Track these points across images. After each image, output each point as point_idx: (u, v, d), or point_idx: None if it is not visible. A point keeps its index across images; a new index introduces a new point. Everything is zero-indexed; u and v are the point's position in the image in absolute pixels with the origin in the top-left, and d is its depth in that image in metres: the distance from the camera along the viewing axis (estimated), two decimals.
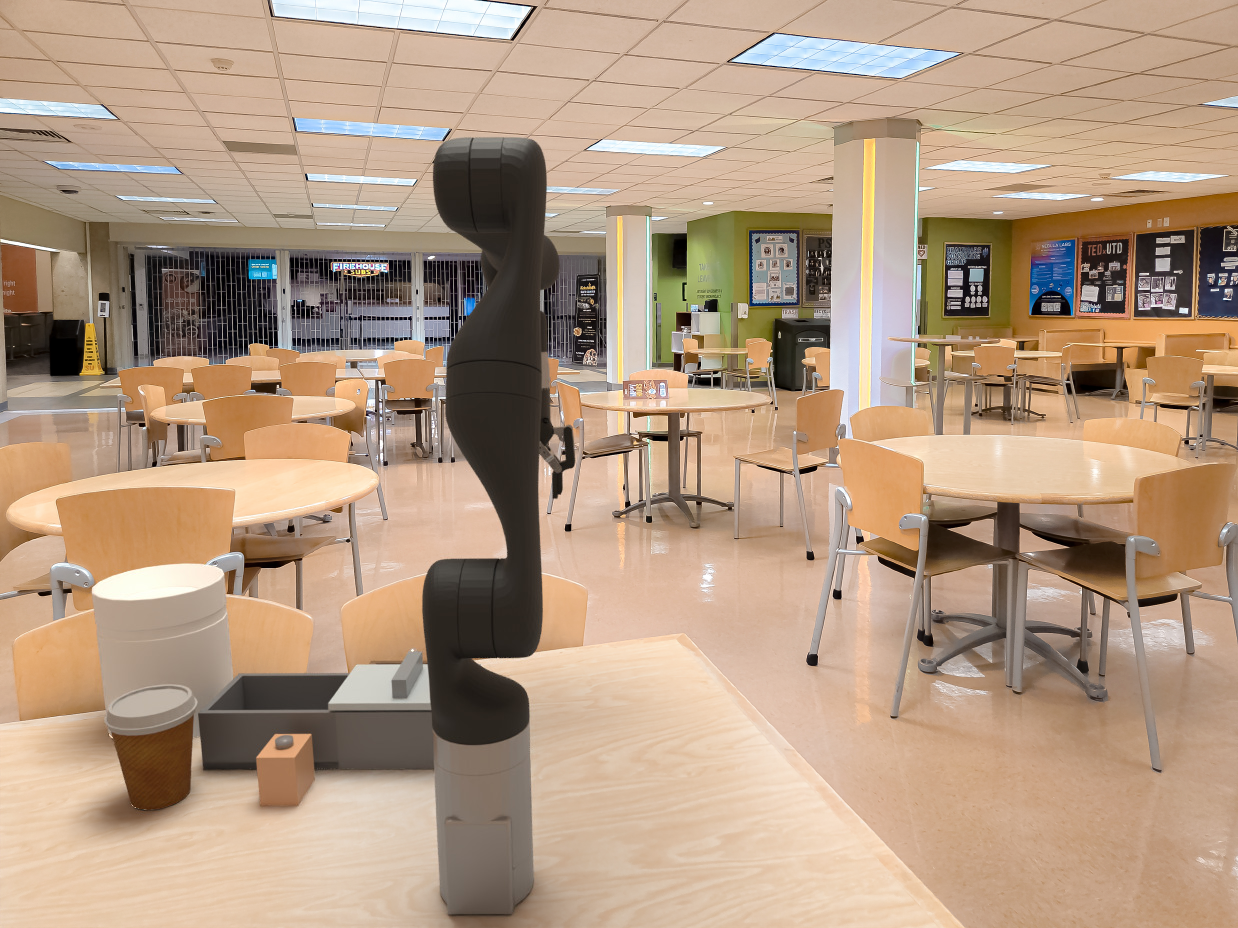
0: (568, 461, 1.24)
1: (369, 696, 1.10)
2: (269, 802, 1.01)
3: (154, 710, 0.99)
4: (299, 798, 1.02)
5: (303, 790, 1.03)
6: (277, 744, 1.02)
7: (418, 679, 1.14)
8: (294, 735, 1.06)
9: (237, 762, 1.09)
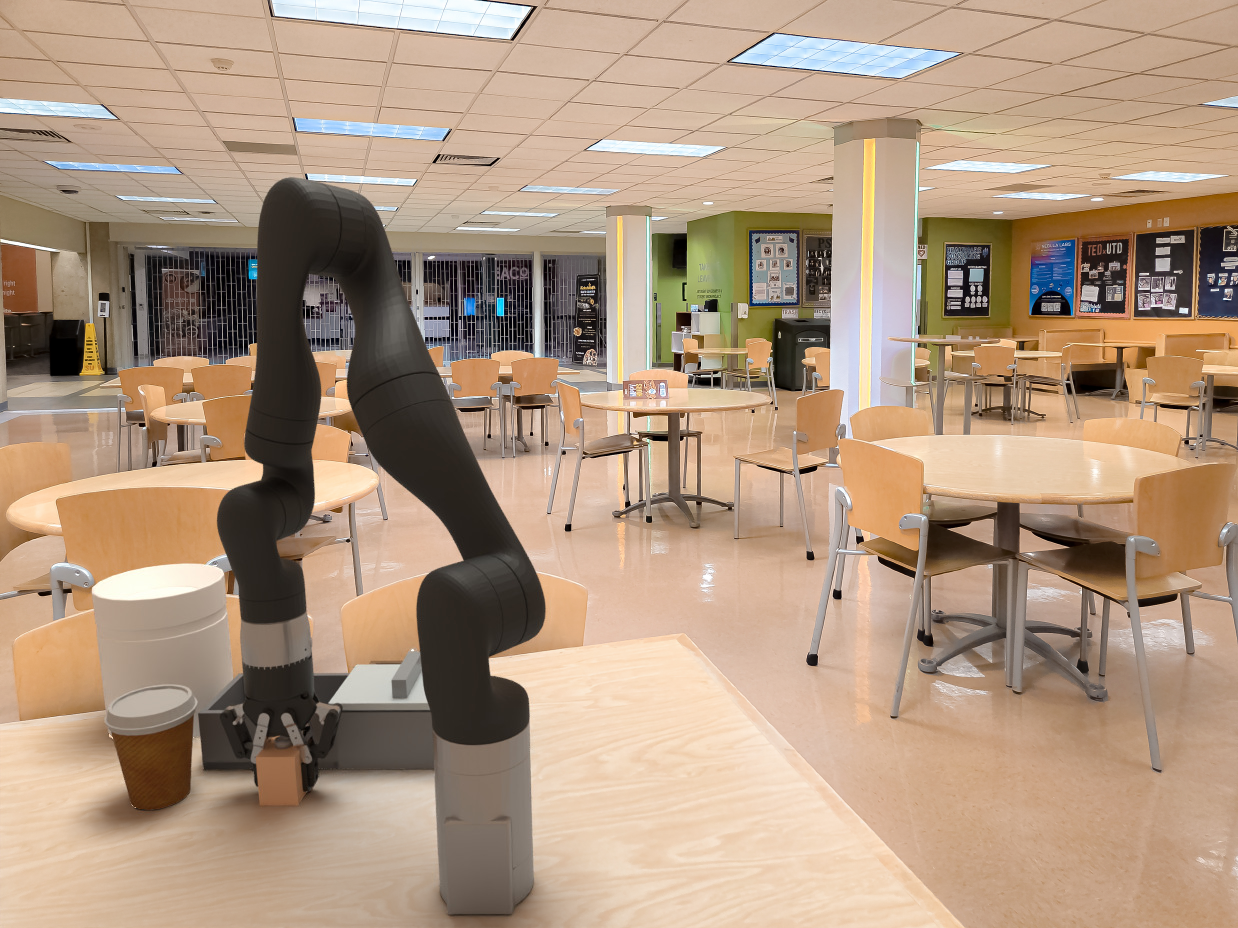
0: (319, 750, 1.02)
1: (369, 696, 1.10)
2: (269, 802, 1.01)
3: (154, 710, 0.99)
4: (299, 798, 1.02)
5: None
6: (277, 744, 1.02)
7: (418, 679, 1.14)
8: None
9: (237, 762, 1.09)
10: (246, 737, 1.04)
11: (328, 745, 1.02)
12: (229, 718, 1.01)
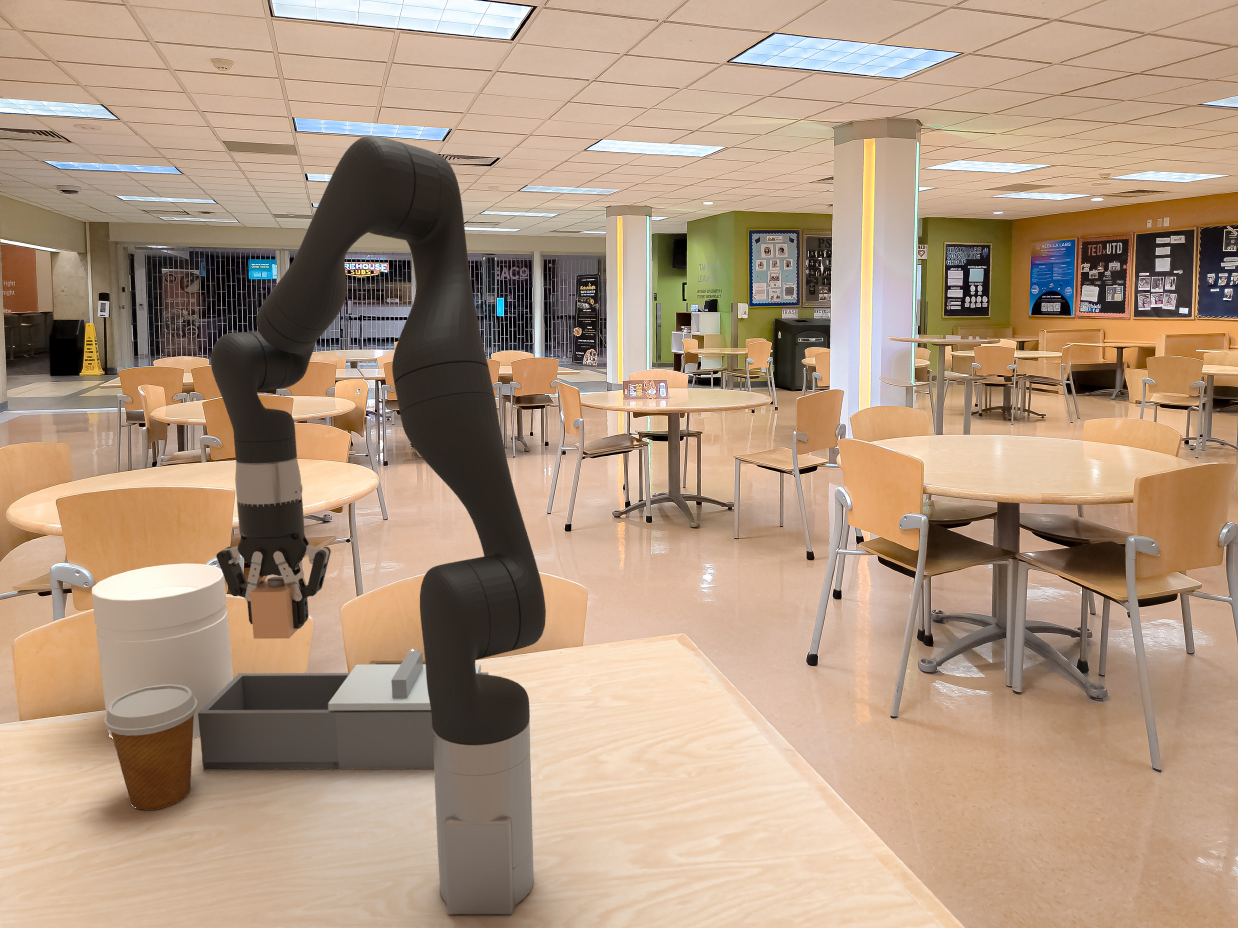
0: (308, 588, 1.10)
1: (369, 696, 1.10)
2: (262, 635, 1.09)
3: (154, 710, 0.99)
4: (290, 632, 1.10)
5: None
6: (270, 582, 1.10)
7: (418, 679, 1.14)
8: None
9: (237, 762, 1.09)
10: (241, 579, 1.12)
11: (317, 583, 1.10)
12: (225, 557, 1.09)
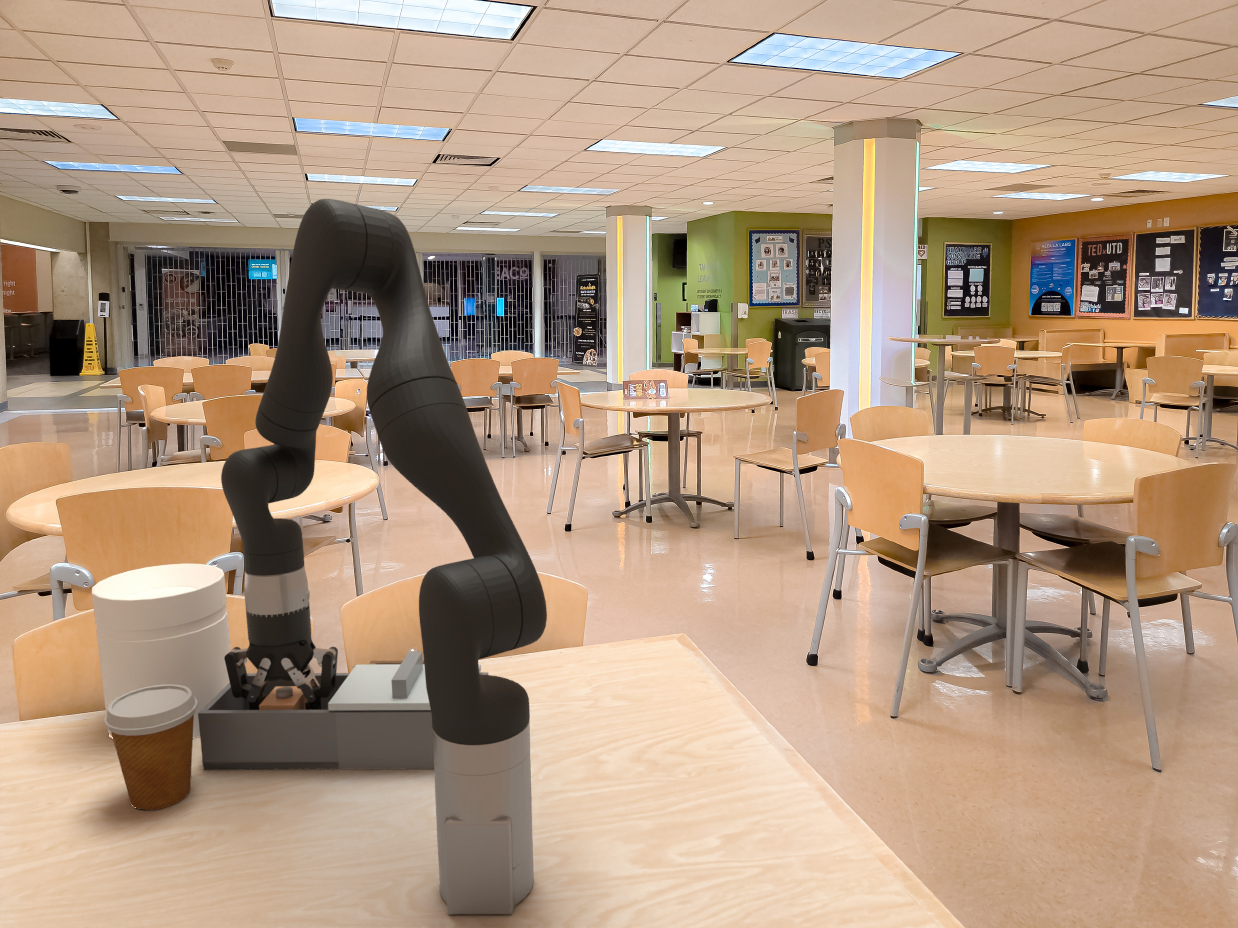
0: (322, 689, 1.12)
1: (369, 696, 1.10)
2: None
3: (154, 710, 0.99)
4: None
5: None
6: (278, 694, 1.13)
7: (418, 679, 1.14)
8: (293, 687, 1.16)
9: (237, 762, 1.09)
10: (244, 679, 1.14)
11: (329, 684, 1.12)
12: (233, 660, 1.12)
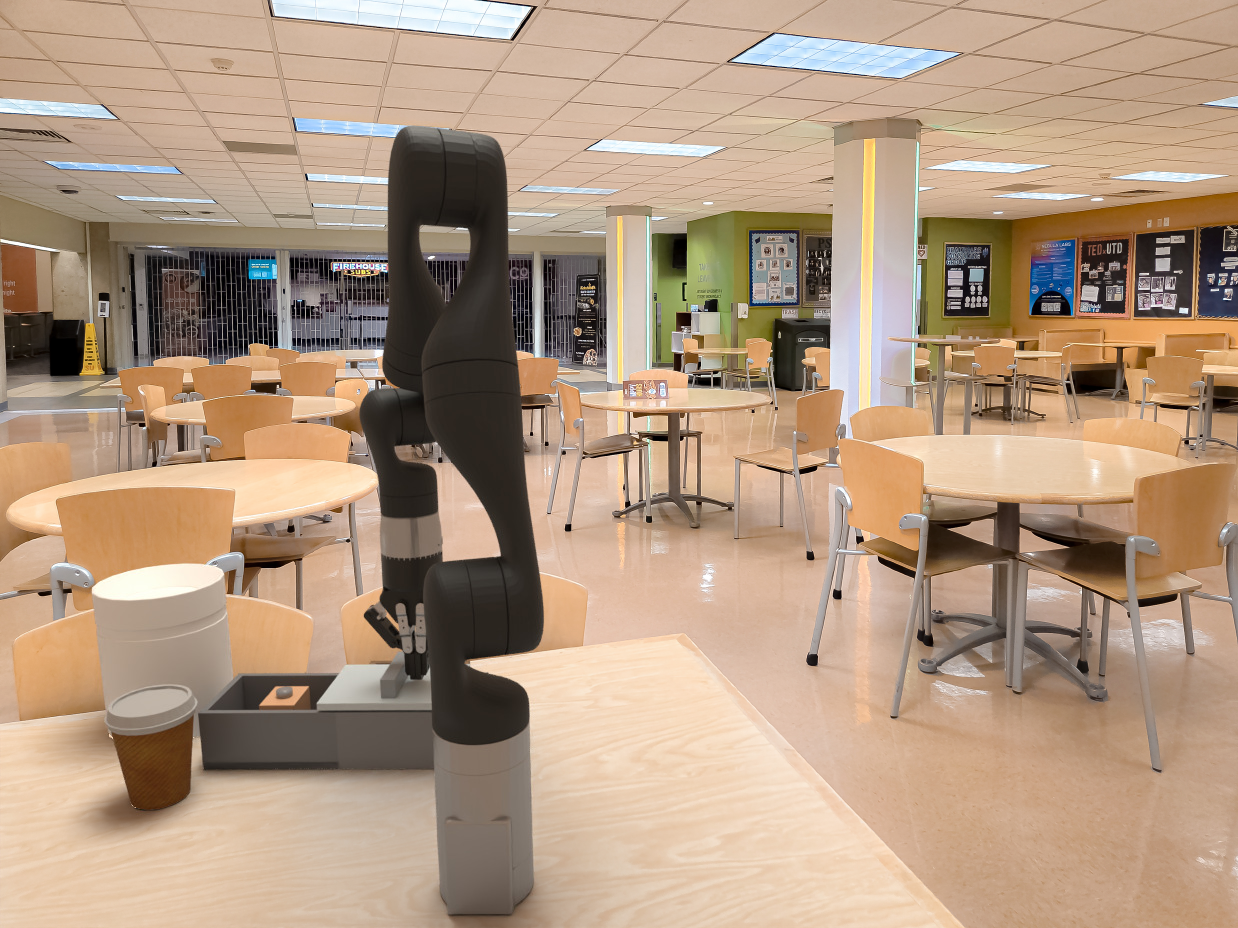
0: None
1: (358, 696, 1.10)
2: None
3: (154, 710, 0.99)
4: None
5: None
6: (278, 694, 1.13)
7: (407, 679, 1.14)
8: (293, 687, 1.16)
9: (237, 762, 1.09)
10: (394, 631, 1.13)
11: None
12: (372, 615, 1.11)
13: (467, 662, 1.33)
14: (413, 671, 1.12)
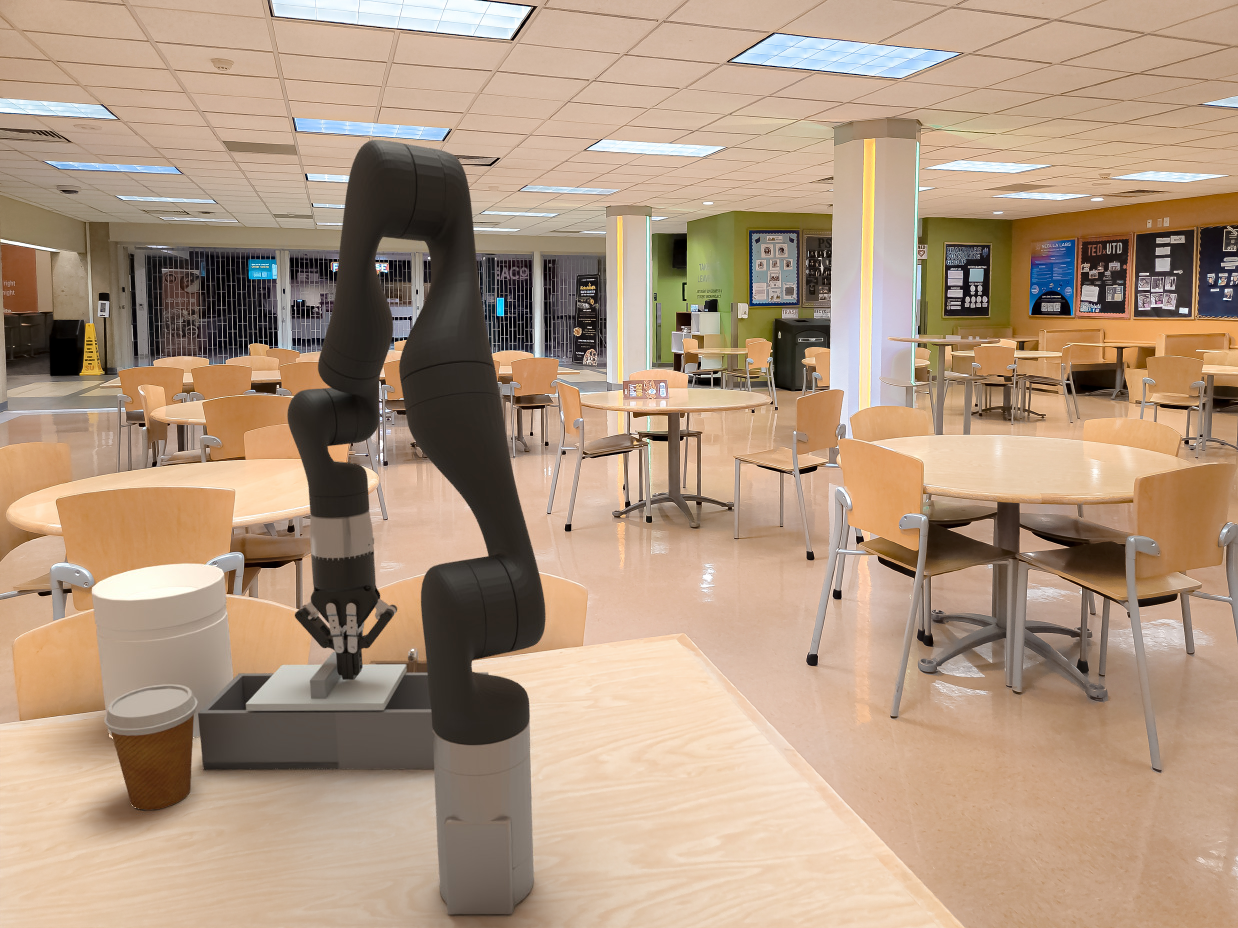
0: (363, 640, 1.11)
1: (288, 696, 1.10)
2: None
3: (154, 710, 0.99)
4: None
5: None
6: None
7: (341, 679, 1.14)
8: None
9: (237, 762, 1.09)
10: (326, 630, 1.13)
11: (374, 639, 1.11)
12: (303, 615, 1.11)
13: None
14: (345, 671, 1.12)
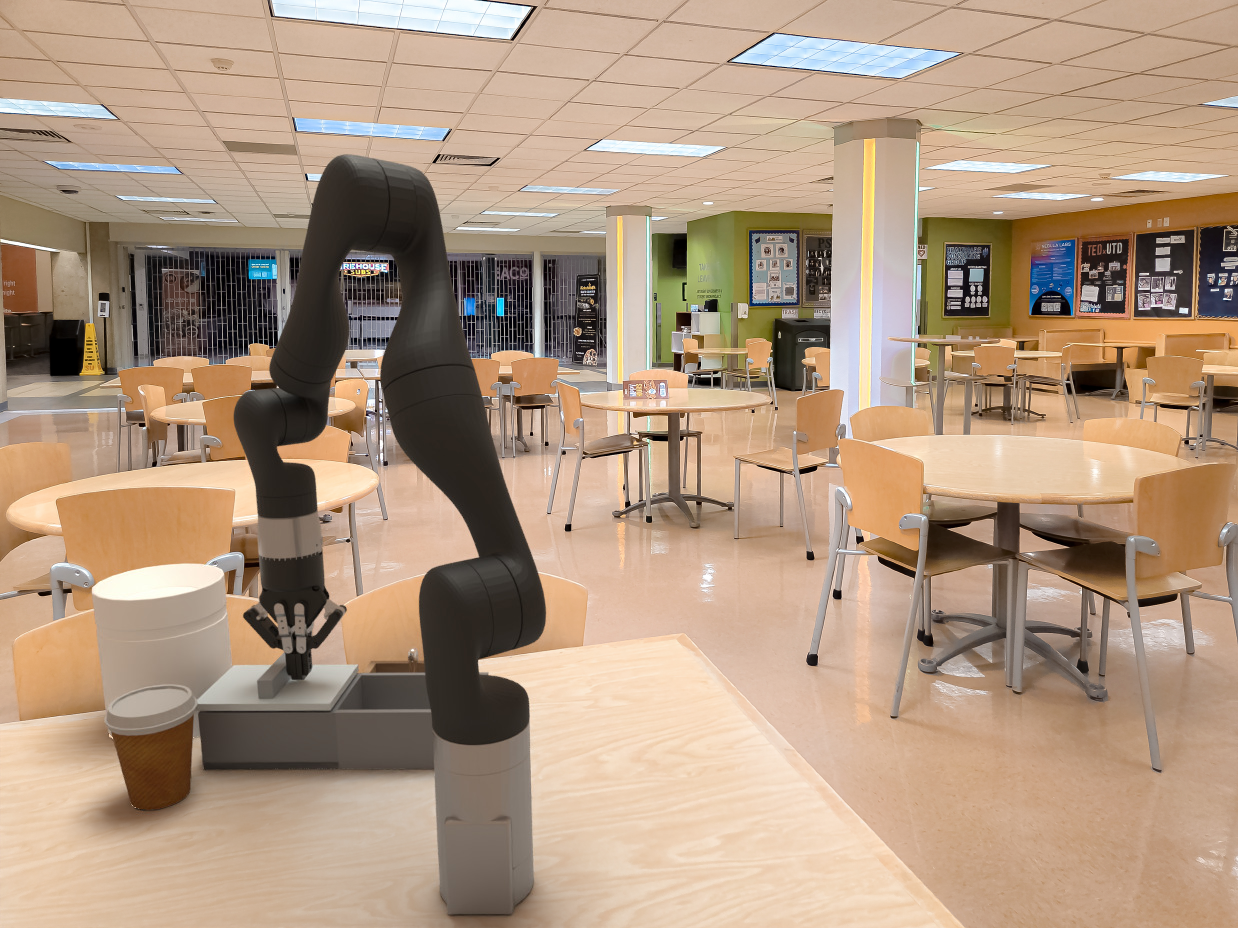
0: (312, 640, 1.11)
1: (236, 697, 1.10)
2: None
3: (154, 710, 0.99)
4: None
5: None
6: None
7: (290, 680, 1.14)
8: None
9: (237, 762, 1.09)
10: (276, 631, 1.13)
11: (323, 639, 1.11)
12: (252, 615, 1.11)
13: None
14: (294, 671, 1.12)
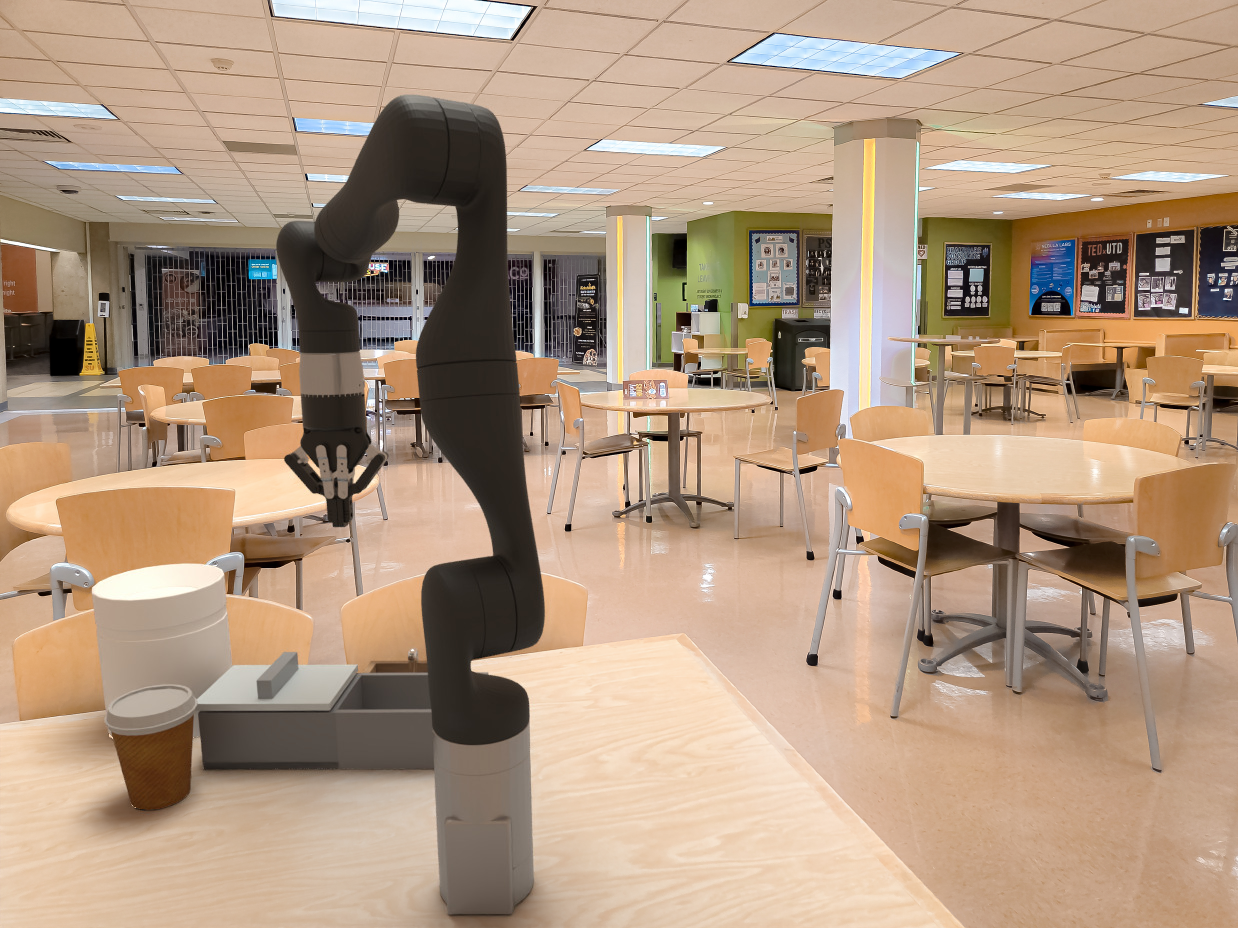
0: (354, 485, 1.10)
1: (235, 697, 1.10)
2: None
3: (154, 710, 0.99)
4: None
5: None
6: None
7: (290, 680, 1.14)
8: None
9: (237, 762, 1.09)
10: (316, 478, 1.11)
11: (365, 484, 1.10)
12: (293, 459, 1.09)
13: None
14: (335, 518, 1.10)
